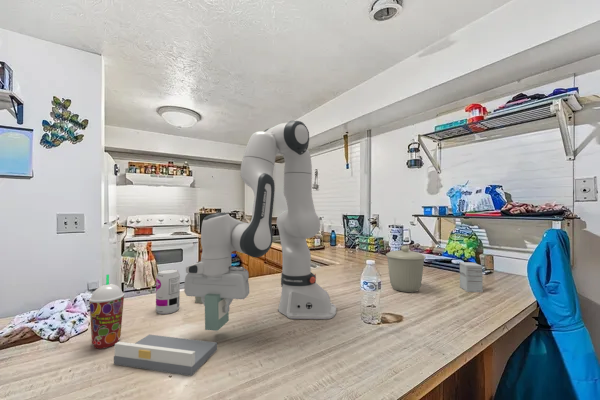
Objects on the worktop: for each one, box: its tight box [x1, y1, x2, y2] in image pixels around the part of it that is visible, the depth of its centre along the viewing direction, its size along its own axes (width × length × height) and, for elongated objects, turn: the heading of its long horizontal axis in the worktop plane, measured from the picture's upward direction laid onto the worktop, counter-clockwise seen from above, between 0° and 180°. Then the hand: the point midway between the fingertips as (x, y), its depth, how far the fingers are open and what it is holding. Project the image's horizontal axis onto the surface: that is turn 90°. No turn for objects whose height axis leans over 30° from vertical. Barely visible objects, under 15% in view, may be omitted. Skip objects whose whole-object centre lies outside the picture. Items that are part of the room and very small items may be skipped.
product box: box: [204, 294, 230, 332], centre depth 83 cm, size 4×7×10 cm, turn 168°
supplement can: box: [155, 268, 181, 315], centre depth 105 cm, size 8×8×15 cm
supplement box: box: [459, 261, 484, 293], centre depth 132 cm, size 7×7×13 cm
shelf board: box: [113, 334, 218, 377], centre depth 72 cm, size 22×12×5 cm, turn 78°
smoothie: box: [89, 274, 125, 349], centre depth 79 cm, size 8×8×20 cm
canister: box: [385, 245, 426, 293], centre depth 133 cm, size 18×18×21 cm
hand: (217, 311), depth 83 cm, fingers closed on product box, 4 cm apart
